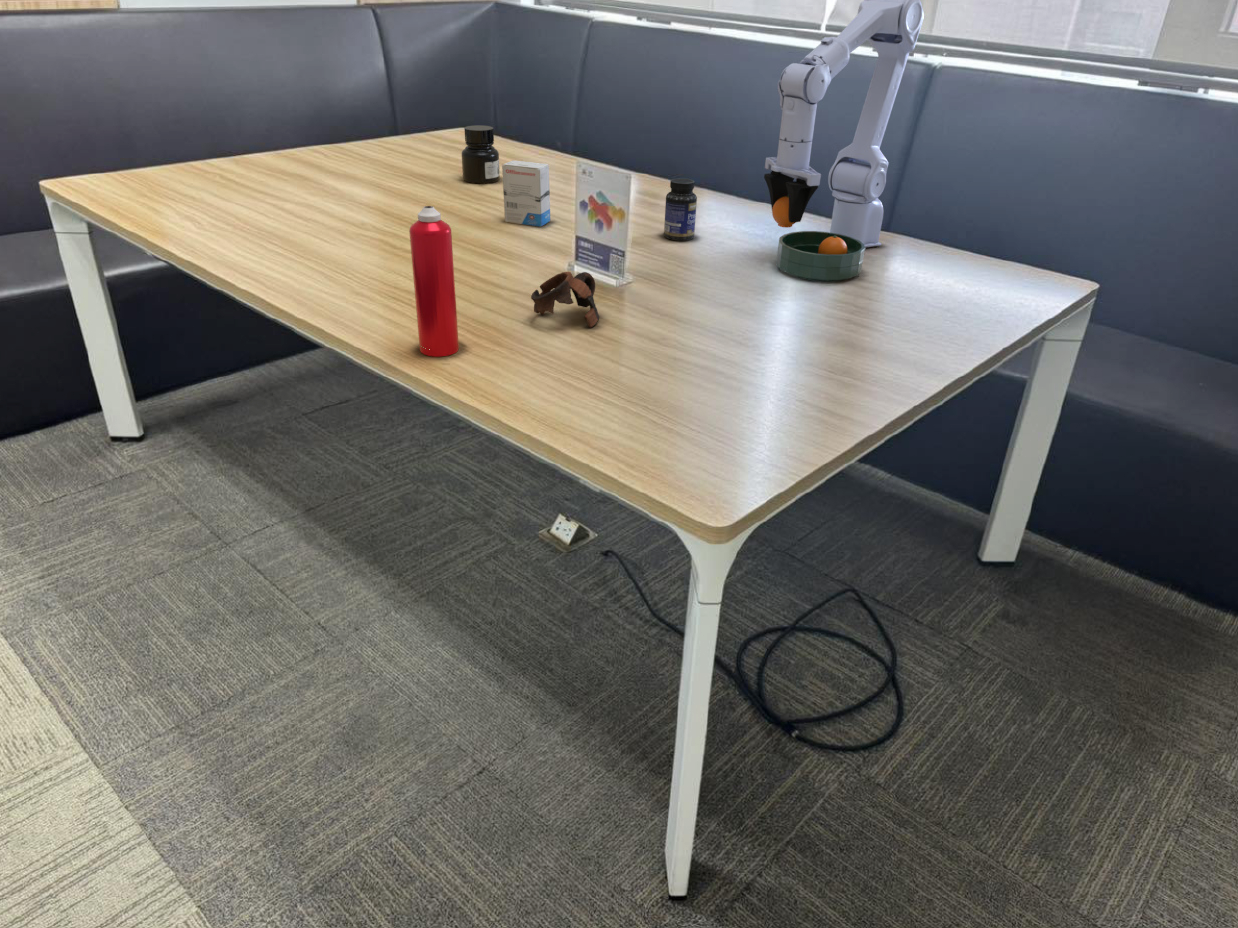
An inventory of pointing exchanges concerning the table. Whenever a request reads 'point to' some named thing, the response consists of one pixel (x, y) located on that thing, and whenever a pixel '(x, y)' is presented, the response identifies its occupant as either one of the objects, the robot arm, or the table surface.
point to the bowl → (818, 256)
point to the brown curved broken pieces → (567, 294)
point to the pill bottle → (680, 210)
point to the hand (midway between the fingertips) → (786, 217)
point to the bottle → (434, 284)
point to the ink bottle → (480, 155)
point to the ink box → (526, 193)
